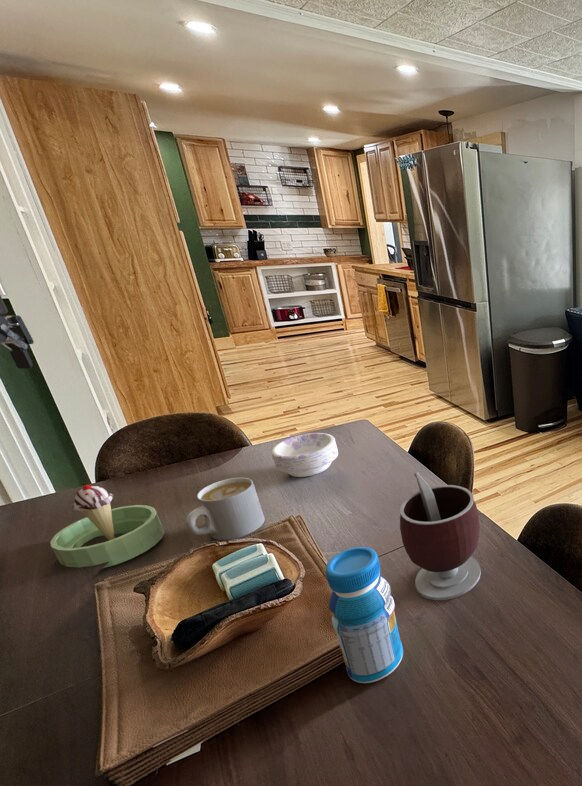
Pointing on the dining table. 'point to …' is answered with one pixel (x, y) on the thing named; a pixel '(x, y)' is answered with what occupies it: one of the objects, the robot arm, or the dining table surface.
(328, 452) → the paper bowls
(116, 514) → the green ring
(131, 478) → the dining table surface
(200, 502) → the coffee mug
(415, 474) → the mate gourd
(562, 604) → the dining table surface
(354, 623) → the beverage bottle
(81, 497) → the ice cream cone
